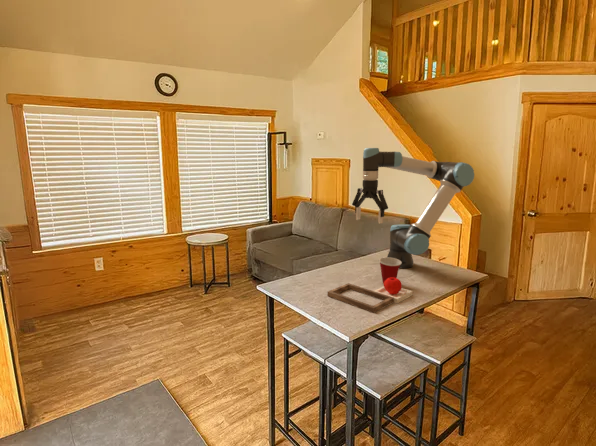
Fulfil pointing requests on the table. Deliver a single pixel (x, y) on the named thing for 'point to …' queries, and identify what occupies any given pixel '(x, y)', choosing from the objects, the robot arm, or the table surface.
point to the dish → (397, 297)
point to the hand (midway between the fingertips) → (369, 221)
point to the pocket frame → (357, 303)
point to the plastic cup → (389, 267)
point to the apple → (392, 285)
